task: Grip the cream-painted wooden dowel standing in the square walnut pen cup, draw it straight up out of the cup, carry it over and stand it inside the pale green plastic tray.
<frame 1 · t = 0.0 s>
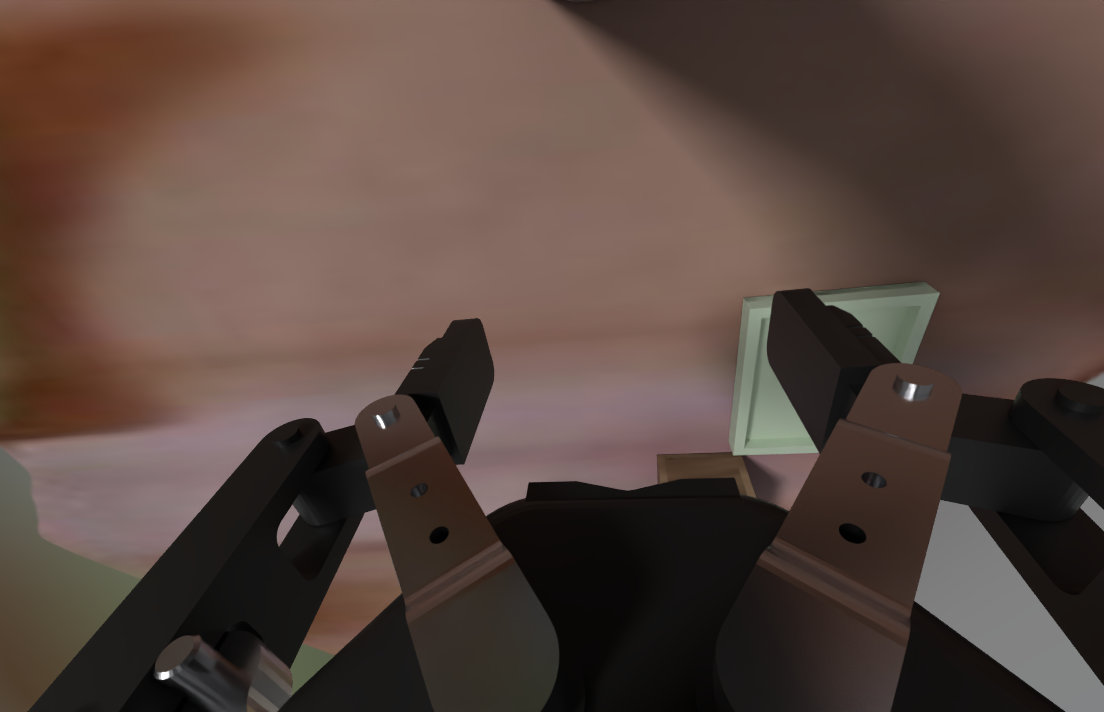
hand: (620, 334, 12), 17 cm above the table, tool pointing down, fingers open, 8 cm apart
pen cup: (696, 479, 41), on the table
tray: (811, 373, 33), on the table
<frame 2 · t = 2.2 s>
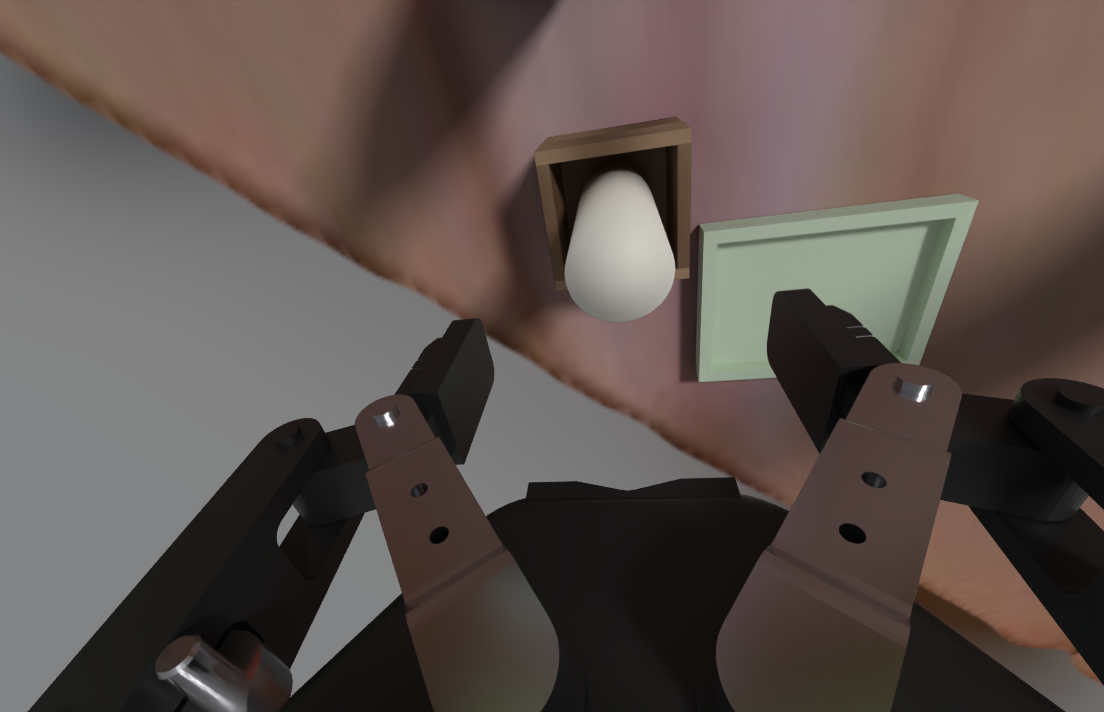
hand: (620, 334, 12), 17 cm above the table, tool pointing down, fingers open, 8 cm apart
dowel: (615, 195, 26), point 1 cm above the table, touching pen cup
pen cup: (614, 193, 26), on the table
tray: (807, 294, 28), on the table
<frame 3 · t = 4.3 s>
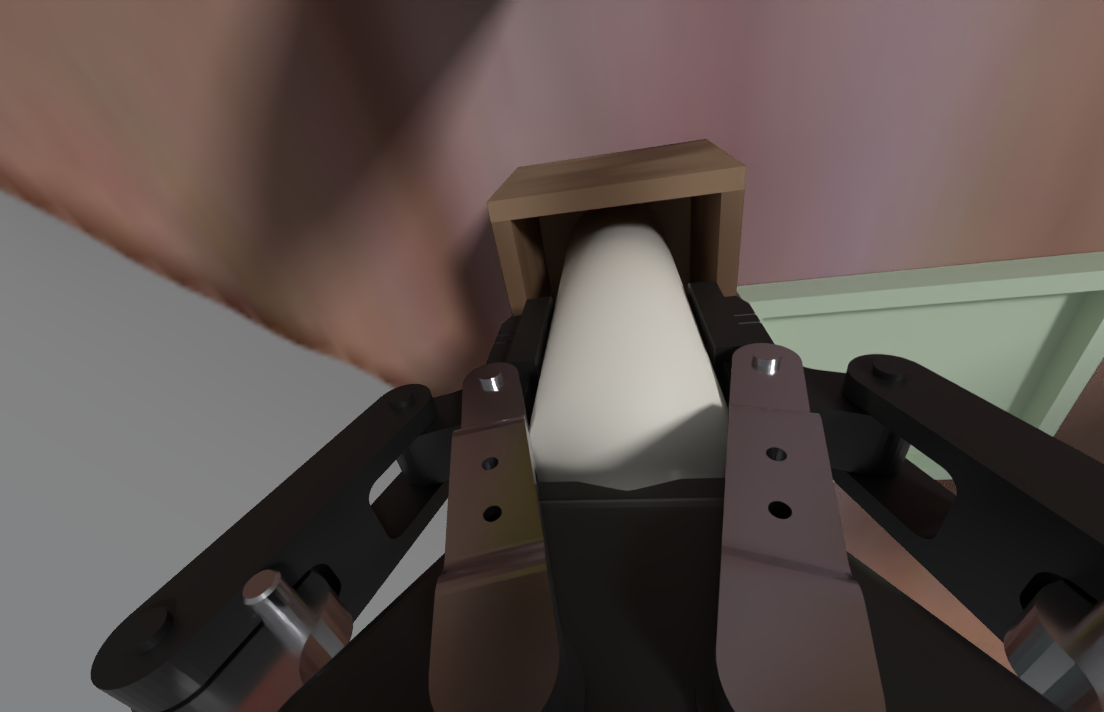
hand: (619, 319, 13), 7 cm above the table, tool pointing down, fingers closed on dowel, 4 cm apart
dowel: (615, 249, 18), point 1 cm above the table, touching gripper, pen cup
pen cup: (615, 244, 19), on the table
tray: (879, 377, 21), on the table
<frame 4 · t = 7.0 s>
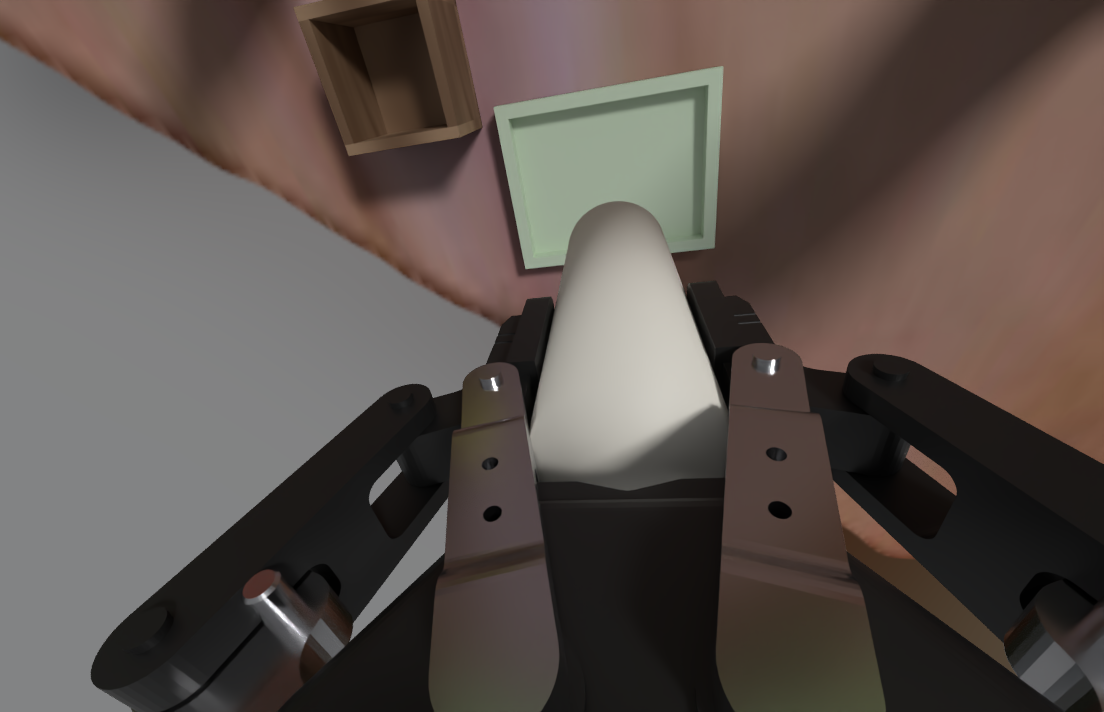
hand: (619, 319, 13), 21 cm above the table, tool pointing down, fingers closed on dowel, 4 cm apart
dowel: (615, 250, 18), point 15 cm above the table, touching gripper
pen cup: (417, 75, 28), on the table
tray: (610, 177, 31), on the table
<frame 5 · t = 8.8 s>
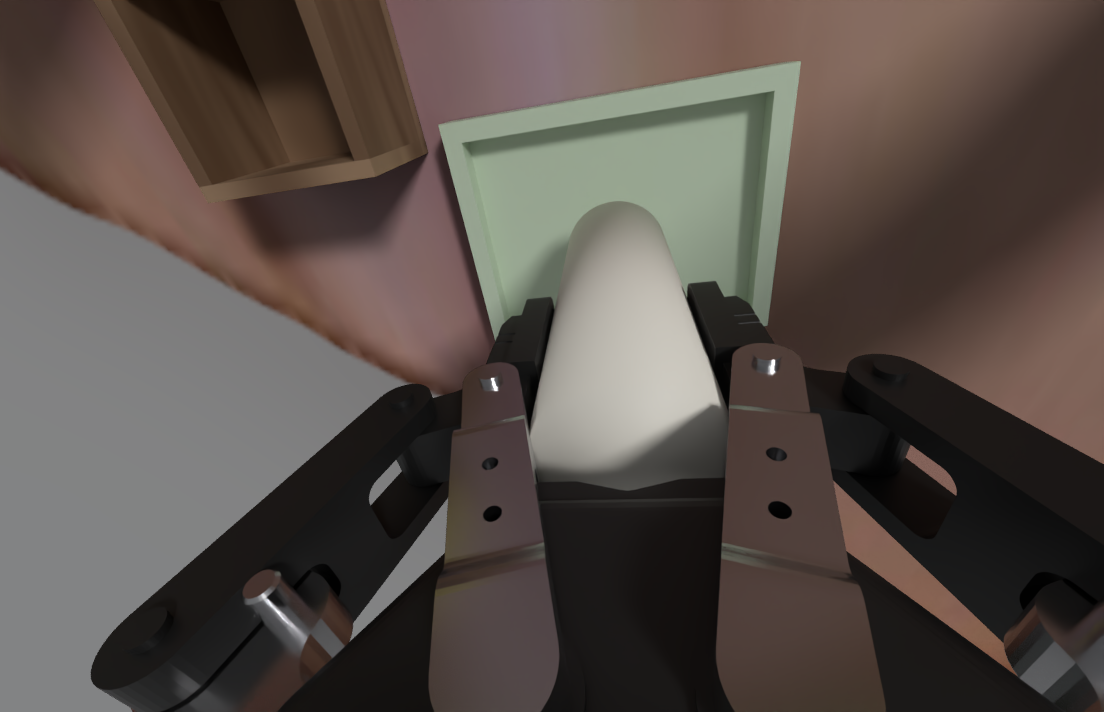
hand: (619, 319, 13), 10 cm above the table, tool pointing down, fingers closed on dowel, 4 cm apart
dowel: (615, 250, 18), point 4 cm above the table, touching gripper
pen cup: (326, 76, 19), on the table
tray: (616, 223, 21), on the table
when the fingers open (8 cm above the table, at t = 10.1 s): dowel stays where it is, resting on tray.
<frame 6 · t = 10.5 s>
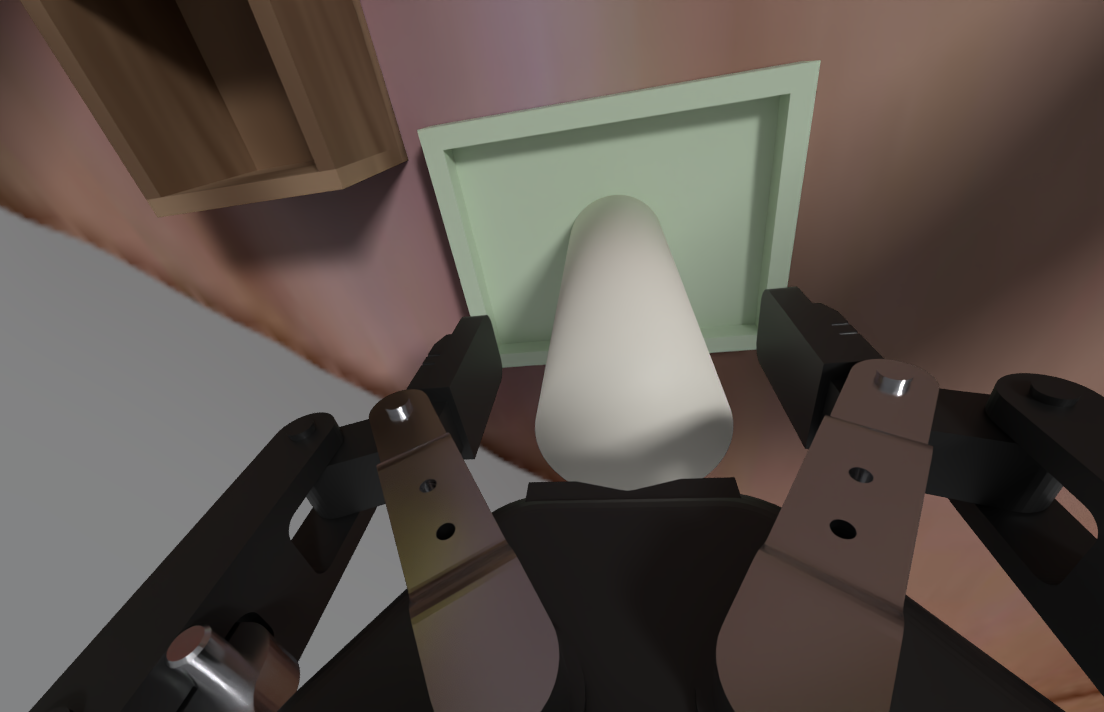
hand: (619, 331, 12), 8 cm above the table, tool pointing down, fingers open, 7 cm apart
dowel: (615, 242, 19), point 1 cm above the table, touching tray
pen cup: (294, 76, 17), on the table
tray: (614, 237, 19), on the table
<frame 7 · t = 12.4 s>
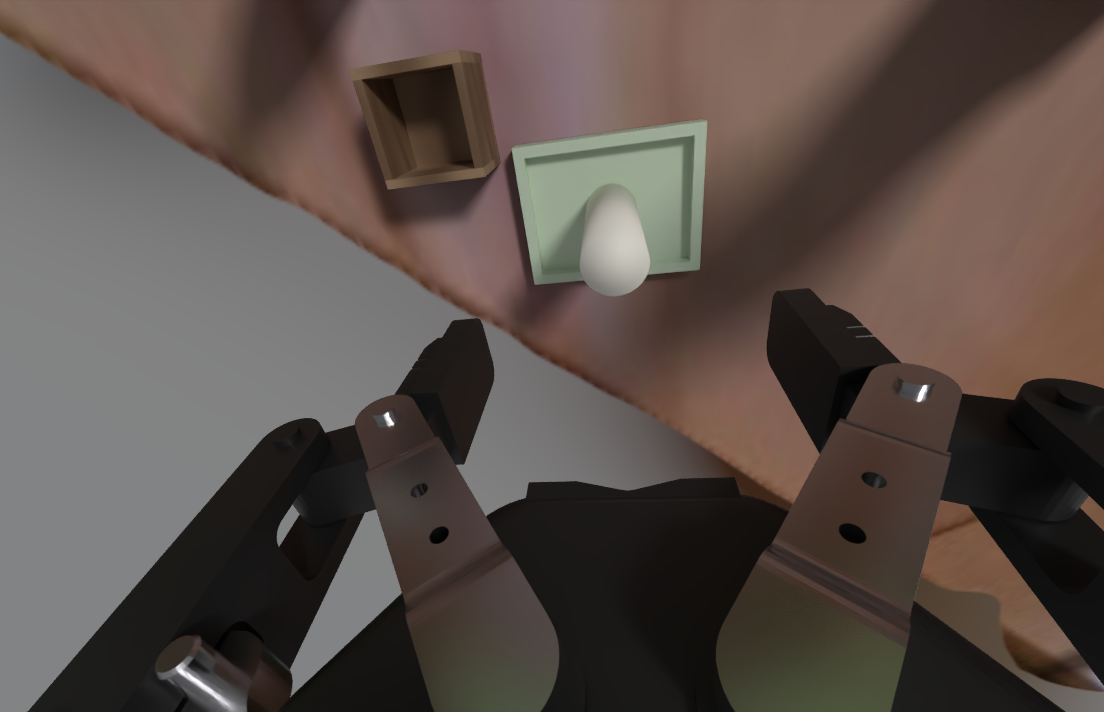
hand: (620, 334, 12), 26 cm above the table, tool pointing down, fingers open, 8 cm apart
dowel: (611, 209, 35), point 1 cm above the table, touching tray
pen cup: (445, 118, 33), on the table
tray: (610, 207, 35), on the table
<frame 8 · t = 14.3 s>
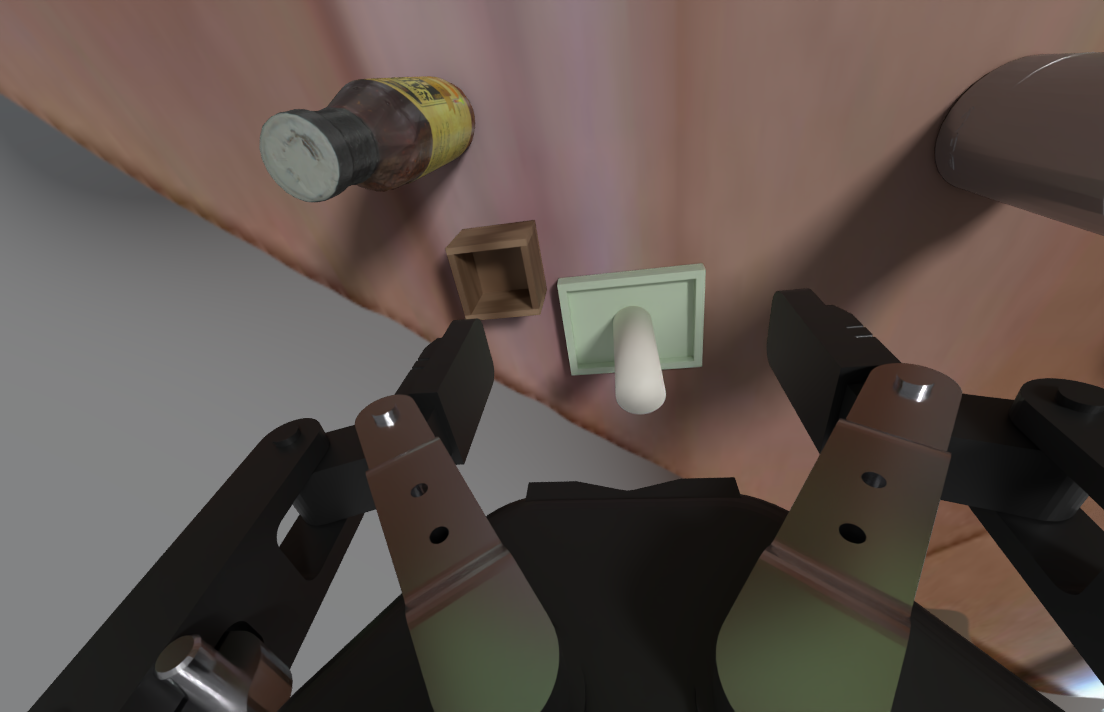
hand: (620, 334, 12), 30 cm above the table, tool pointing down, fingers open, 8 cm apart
dowel: (632, 323, 45), point 1 cm above the table, touching tray
sauce bottle: (441, 119, 37), on the table
pen cup: (505, 260, 43), on the table
tray: (631, 319, 46), on the table
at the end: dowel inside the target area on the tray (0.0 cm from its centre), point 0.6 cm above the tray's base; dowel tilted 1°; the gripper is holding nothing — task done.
